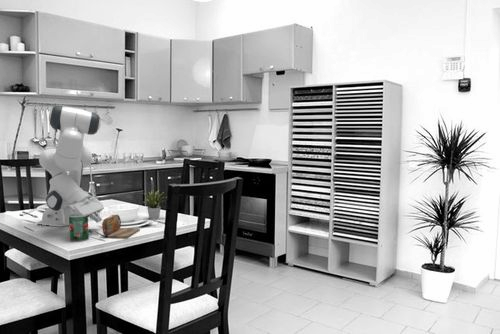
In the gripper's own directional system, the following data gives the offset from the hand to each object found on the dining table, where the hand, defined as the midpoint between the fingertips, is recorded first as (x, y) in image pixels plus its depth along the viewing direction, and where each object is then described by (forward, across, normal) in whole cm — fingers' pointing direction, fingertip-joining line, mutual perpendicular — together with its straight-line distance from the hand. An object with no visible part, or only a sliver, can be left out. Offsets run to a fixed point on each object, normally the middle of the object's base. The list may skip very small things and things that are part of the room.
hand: (99, 221), depth 204 cm
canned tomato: (+1, -11, +7) cm, 13 cm away
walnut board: (+12, 0, -4) cm, 13 cm away
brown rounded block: (+8, 0, 0) cm, 8 cm away
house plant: (+14, +34, -5) cm, 37 cm away
